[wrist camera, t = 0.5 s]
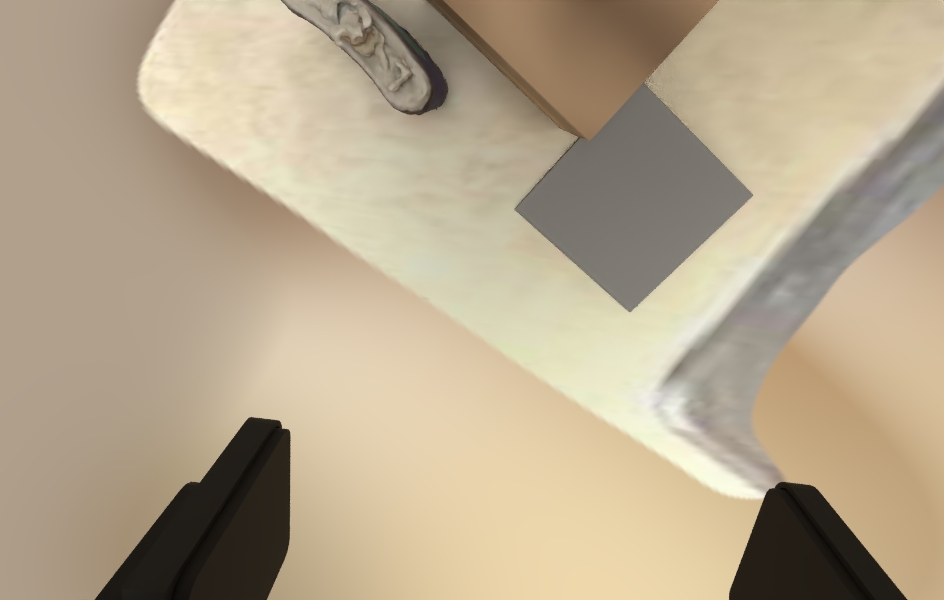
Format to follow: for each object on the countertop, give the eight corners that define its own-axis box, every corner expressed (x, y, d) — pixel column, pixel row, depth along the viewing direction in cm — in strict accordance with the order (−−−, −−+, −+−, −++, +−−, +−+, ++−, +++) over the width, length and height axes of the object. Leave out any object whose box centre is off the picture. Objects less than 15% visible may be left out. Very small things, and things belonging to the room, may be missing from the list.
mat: (635, 76, 35) (636, 76, 35) (750, 194, 37) (753, 195, 37) (514, 208, 38) (515, 209, 38) (628, 310, 40) (629, 312, 40)
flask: (315, 12, 34) (245, -23, 24) (345, -29, 34) (286, -83, 23) (430, 119, 36) (409, 129, 26) (460, 83, 36) (452, 78, 25)
